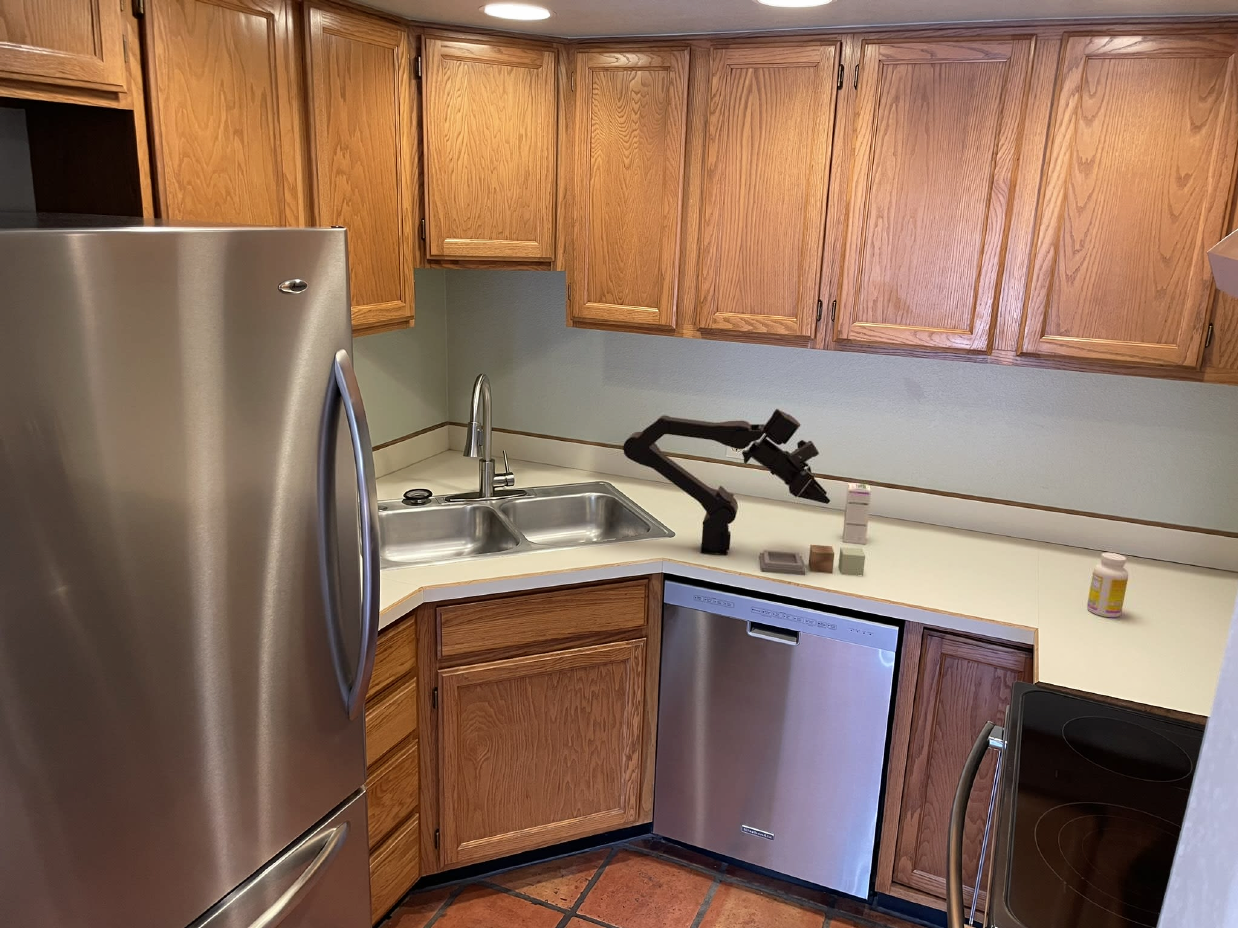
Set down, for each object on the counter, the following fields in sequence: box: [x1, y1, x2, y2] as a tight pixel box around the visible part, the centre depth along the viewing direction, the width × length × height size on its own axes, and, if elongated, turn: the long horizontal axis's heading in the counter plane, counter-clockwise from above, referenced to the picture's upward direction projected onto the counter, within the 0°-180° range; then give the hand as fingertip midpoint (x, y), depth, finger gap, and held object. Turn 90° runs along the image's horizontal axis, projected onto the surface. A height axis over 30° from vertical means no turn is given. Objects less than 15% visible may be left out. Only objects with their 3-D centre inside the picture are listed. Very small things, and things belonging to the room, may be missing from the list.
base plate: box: [759, 549, 806, 576], centre depth 216 cm, size 10×10×2 cm
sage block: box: [837, 546, 866, 577], centre depth 214 cm, size 5×5×5 cm
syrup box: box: [842, 482, 872, 545], centre depth 234 cm, size 6×6×14 cm
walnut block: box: [808, 544, 835, 574], centre depth 214 cm, size 5×5×5 cm
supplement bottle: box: [1086, 552, 1129, 618], centre depth 196 cm, size 7×7×13 cm
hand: (827, 498), depth 215 cm, fingers open, 9 cm apart
